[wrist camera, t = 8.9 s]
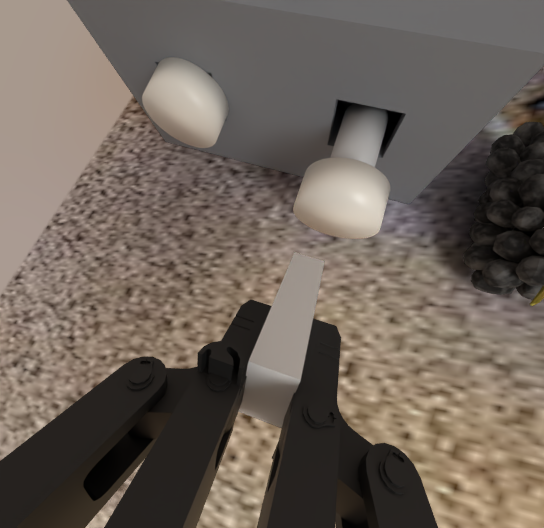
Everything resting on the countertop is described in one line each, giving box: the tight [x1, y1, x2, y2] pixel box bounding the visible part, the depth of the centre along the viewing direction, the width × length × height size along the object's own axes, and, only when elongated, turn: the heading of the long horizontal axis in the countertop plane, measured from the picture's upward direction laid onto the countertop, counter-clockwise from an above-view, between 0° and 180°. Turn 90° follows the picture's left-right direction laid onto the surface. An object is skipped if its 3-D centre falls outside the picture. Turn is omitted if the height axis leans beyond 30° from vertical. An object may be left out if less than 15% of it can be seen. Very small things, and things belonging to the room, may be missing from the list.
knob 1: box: [142, 57, 229, 148], centre depth 19 cm, size 5×7×5 cm
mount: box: [67, 0, 544, 204], centre depth 19 cm, size 24×8×13 cm, turn 71°
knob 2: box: [293, 103, 390, 239], centre depth 16 cm, size 5×7×5 cm
